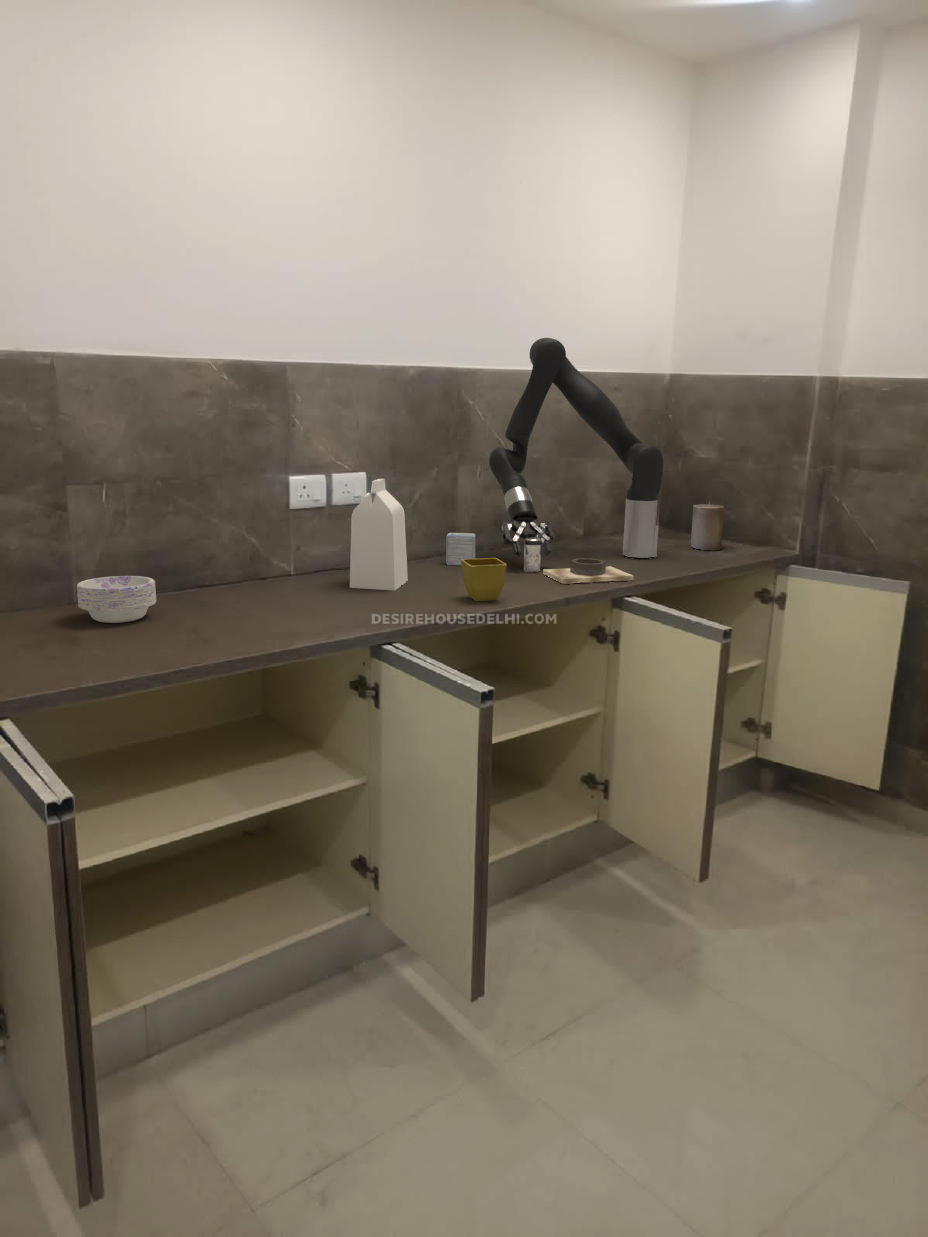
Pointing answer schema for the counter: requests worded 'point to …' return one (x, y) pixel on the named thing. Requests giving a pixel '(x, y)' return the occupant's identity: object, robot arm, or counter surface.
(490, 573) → the flower pot
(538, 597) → the counter surface
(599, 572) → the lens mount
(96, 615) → the paper bowls
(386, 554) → the milk
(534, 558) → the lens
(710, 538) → the pillar candle
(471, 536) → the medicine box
